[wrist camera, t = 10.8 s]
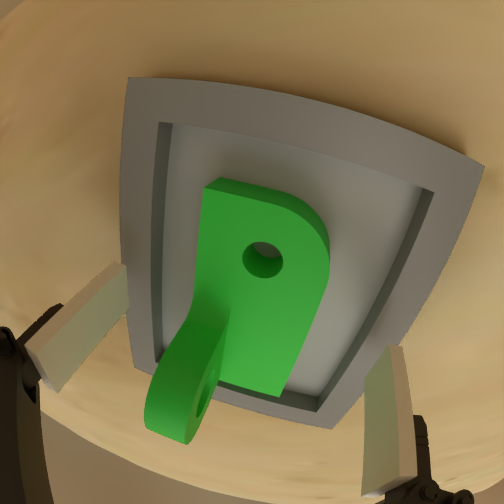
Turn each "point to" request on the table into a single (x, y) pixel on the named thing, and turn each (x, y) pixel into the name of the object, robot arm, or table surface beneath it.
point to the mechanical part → (241, 303)
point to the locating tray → (308, 190)
